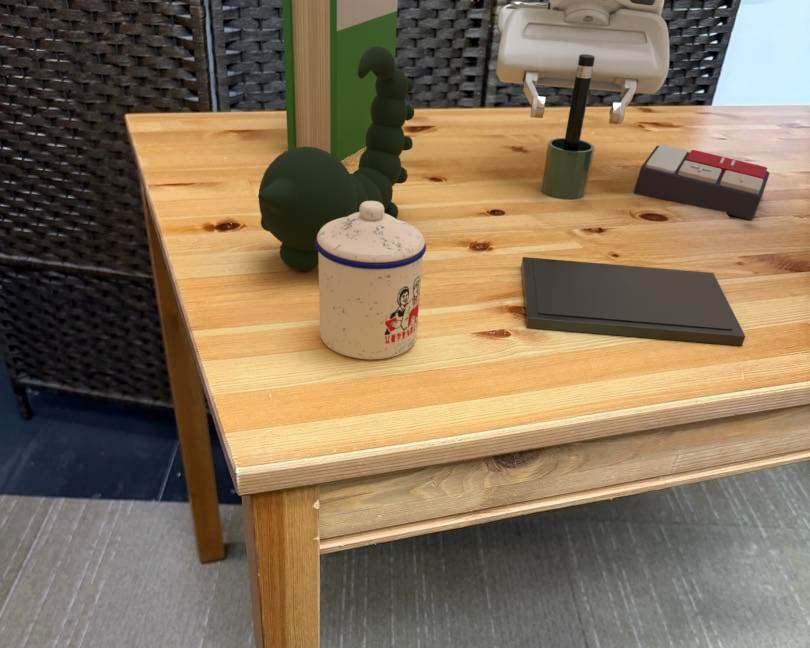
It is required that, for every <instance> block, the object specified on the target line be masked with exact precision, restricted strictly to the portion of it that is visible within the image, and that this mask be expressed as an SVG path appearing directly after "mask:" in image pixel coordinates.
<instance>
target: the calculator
mask: <svg viewBox="0 0 810 648" xmlns="http://www.w3.org/2000/svg"><path fill="white" fill-rule="evenodd" d="M770 173H771V172H770V171H768V167H767V166H763V165H759V164H755V163H751V162H746V161H743V160H738V159H734V158H731V157H730V158H729V157H725V156H721V155H716V154H712V153H710V152H709V153H708V152H704V151H701V150H696V149H691V150H690V152H689V151H688V150H687V149H684V148H680V147H676V146H672V145H667V144H665V143H664V144H663V143H661V144H658V145H656V146H655V147H654V149H653V150H652V152H650V154H649V156H648V157H647V158H646V160H645V161H644V162H643V163H642V165H641V166H640V169H639V173H638V176H637V179H636V182H635V186H634V190H633V194H634V195H636V196H642V197H646V198H647V197H648V198H653V199H657V200H663V201H673V202H677V203H681V204H685V205H689V206H693V207H698V208H703V209H708V210H713V211H719V212H725V213H726V215H728V216H733V217H737V218H739V219H744V220H748V221H752V220H754V218H755V216H756V213H757V210H758V208H759V205H760V203H761V201H762V197H763V194H764V191H765V189H766V187H767V183H768V180H769V177H770V175H771V174H770Z"/></svg>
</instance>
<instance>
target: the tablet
mask: <svg viewBox="0 0 810 648" xmlns="http://www.w3.org/2000/svg"><path fill="white" fill-rule="evenodd" d="M715 275H716V274H715V273H714V272H710V271H709V272H707V271H696V270H695V271H694V270H684V269H672V268H660V267H647V266H639V265H638V266H637V265H624V264H612V263H603V262H602V263H601V262H600V263H599V262H589V261H588V262H587V261H577V260H576V261H575V260H566V259H565V260H564V259H552V258H539V257H530V256H529V257H528V256H522V259H521V277H522V291H523V302H524V314H525V316H524V317H525V326H526V328H528V329H529V328H530V329H538V330H551V331H561V332H562V331H563V332H574V333H586V334H597V335H607V336H608V335H609V336H620V337H622V336H623V337H633V338H643V339H644V338H645V339H657V340H668V341H680V342H691V343H704V344H715V345H724V346H725V345H726V346H739V347H742V346H743V344H744V341H745V338H746V335H745V332H744V331H743V329H742V327H741V324H740V323H739V321H738V318H737V317H736V315H735V313H734V310H733V309H732V307H731V304H730V303H729V301H728V299H727V297H726V295H725V293H724V291H723V288H722V287H721V285H720V283H719V281H718V279H717V277H716V276H715Z"/></svg>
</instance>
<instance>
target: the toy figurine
mask: <svg viewBox="0 0 810 648" xmlns="http://www.w3.org/2000/svg"><path fill="white" fill-rule="evenodd" d="M370 71H372V72H373V73H374V75H375V76H376V77H377V79H376V83H375V89H376V93H377V95H376V97H375V98H374V99H373V101H372V104H371V108H370V111H371V119H372V121H373V123H372V124H371V125H370V126H369V128H368V130H367V133H366V136H365V139H366V146H365V147H366V148H365V149H364V151H363V152H362V153H361V156H360V158H359V161H358V168H357V169H356V170H355V171H354V172H351V173H350V171H349V170H348V169H347V168H346V166H345V165H344V164H343V162H342V161H339V160H338V159H337V158H335V157H334V156H333V155H331V154H330V153H328V152H326V151H323V150H321V149H318V148H314V147H306V146H304V147H296V148H292V149H290V150H288V149H287V150H285V151H283V152H282V153H280V154H279V155H277V156H276V157H275V158H274V159H273V161H272V162H271V163H270V164H269V165H268V166H267V168H266V170H265V171H264V173H263V175H262V178H261V181H260V183H259V188H258V194H257V198H258V205H259V206H258V207H259V211H260V216H261V218H260V226H261V228H262V230H264V231H266V232H269V233H270V234H271V235H272V236H273V237H274V238H275V239H276V240H277V241H279V242H280V243H281V245H280V247H279V257H280V259H281V260H282V262H283V263H284V265H285V266H287V267H289V268H291V269H294V270H296V271H301V272H312V271H313V270H315V269H316V268H317V267H319V251H318V250H317V248H316V244H315V241H316V238H317V235H318V232H319V231H320V229H321V228H322V227H323V226H324V225H325V224H327V223H329V222H331V221H333V220H336V219H339V218H343V217H348V216H349V215H351V214H354V213H357V212H359V208H360V205H361V204H362V203H363V202H365V201H377V202H380V203H381V204H382V205H383V206H384V213H386V214H388V215H390V216H392V217H394V218H395V219H397V217H398V215H399V207H398V206H397V205H396V204H395V202H393V201H392V200H393V194H394V189H393V186H395V185H396V184H397V185H398V184H404V183H406V182H407V180H408V177H409V175H408V170H407V169H406V168H405V167H403V166H402V161H401V158H400V155H402V152H403V151H404V152H406V151H410V150H411V149H412V148H413V145H414V143H413V139H412V138H411V136H405V132H404V130H403V128H402V127H403V126H404V125H405V124H406V121H407V122H408V121H410V120H412V119H413V118H414V117H415V109H414V107H413V106H411V104H407V102H406V100H405V99H406V97H407V96H408V93H411V92H412V91H413V90H414V88H415V83H414V81H413V80H412V79H411V78H409V77H408V76H407V75H406V74H405V72H404V71H403V70H401V69H400V68H398V67H396V59H395V60H394V57H393V56H392V54H391V53H390V52H389V51H388V50H387V49H385V48H383V47H381V46H376V47H371V48H369V49H368V50H366V51H365V52H364V54H363V55H362V57H361V59H360V63H359V67H358V76H359V78H364V77H365V76H366V75H367V74H368V73H369V72H370Z"/></svg>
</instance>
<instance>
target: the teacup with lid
mask: <svg viewBox="0 0 810 648" xmlns="http://www.w3.org/2000/svg"><path fill="white" fill-rule="evenodd" d="M315 244H316V248H317V250H318V251H319V264H318V304H319V305H318V307H319V308H318V310H319V312H318V313H319V336H320V338H321V340H322V342H323V343H324V344H325V346H326V347H328V348H329V349H330V350H332V351H333V352H335V353H337V354H339V355H342V356H345V357H349V358H354V359H359V360H384V359H390V358H393V357H396V356H398V355H401V354H404V353H406V352H407V351H408V350H410V349H411V348H412V347H413V346H414V344H415V343H416V341H417V338H418V337H417V336H418V327H419V325H418V323H419V311H420V298H421V297H420V296H421V283H422V269H423V268H422V267H423V256H424V255H425V253H426V251H427V244H426V240H425V238H424V236H423V234H422V232H421V231H420V229H418V228H417V227H416V226H414V225H412V224H411V223H408V222H406V221H403V220H401V219H397V218H396V219H395V218H394V217H392V216H390V215H388V214H386V213H384V206H383V205H382V204H381V203H380V202H377V201H365V202H363V203H362V204H361V205H360V208H359V212H357V213H354V214H351V215H349V216H348V217H343V218H339V219H336V220H333V221H331V222H329V223H327V224H325V225H324V226H323V227H322V228H321V229H320V231H319V232H318V235H317V238H316V241H315Z"/></svg>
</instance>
